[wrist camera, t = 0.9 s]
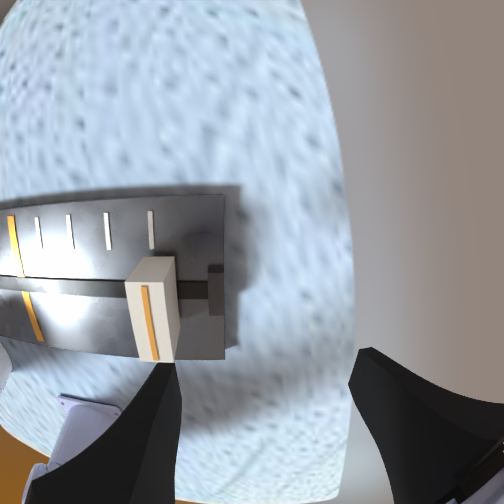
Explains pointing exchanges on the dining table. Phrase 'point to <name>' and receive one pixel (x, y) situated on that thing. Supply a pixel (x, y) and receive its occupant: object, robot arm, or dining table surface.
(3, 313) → the console
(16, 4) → the dining table surface
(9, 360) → the foam cup
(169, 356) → the block
